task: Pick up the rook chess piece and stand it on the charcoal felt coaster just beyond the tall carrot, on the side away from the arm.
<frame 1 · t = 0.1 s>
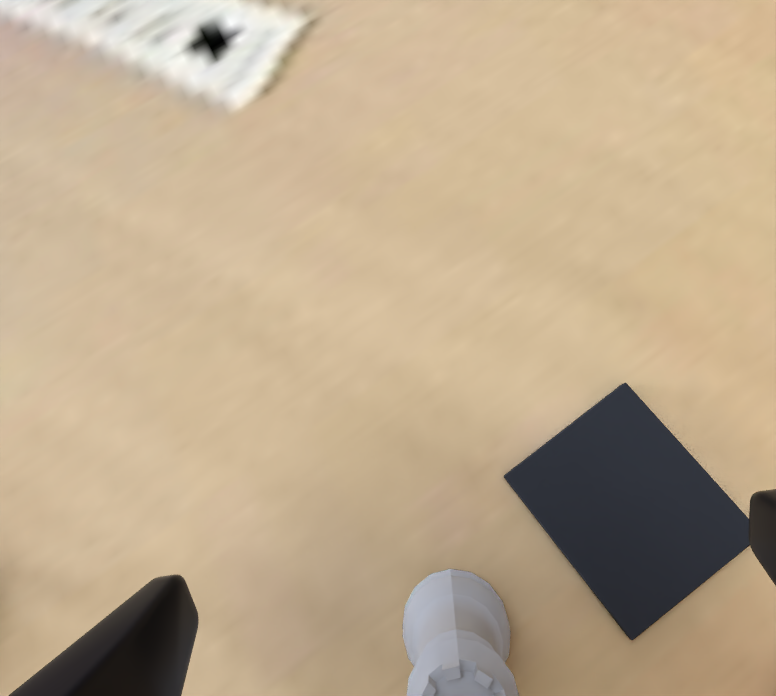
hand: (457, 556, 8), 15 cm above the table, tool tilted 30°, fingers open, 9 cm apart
rook chess piece: (454, 620, 21), on the table
coaster: (625, 503, 21), on the table
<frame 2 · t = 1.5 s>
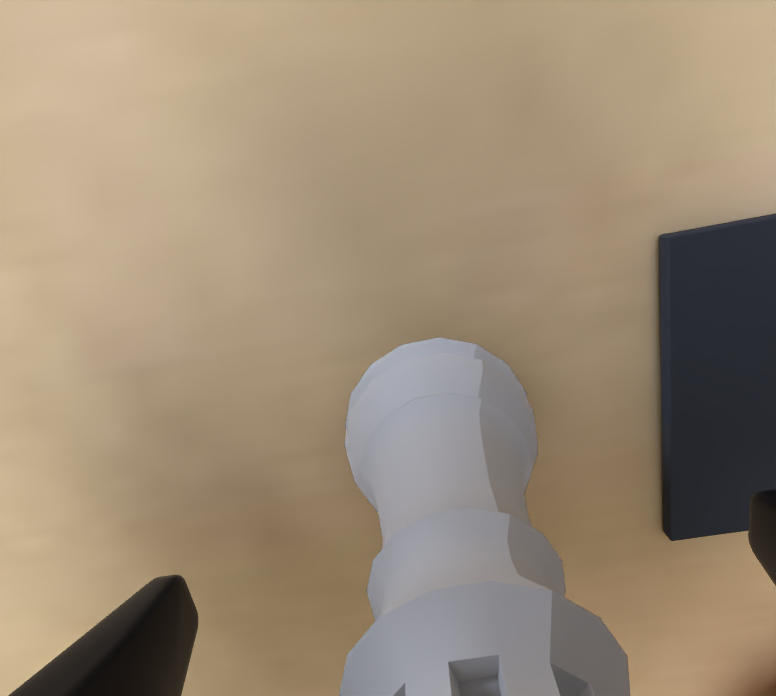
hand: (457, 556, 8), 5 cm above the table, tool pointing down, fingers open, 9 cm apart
rook chess piece: (435, 413, 12), on the table
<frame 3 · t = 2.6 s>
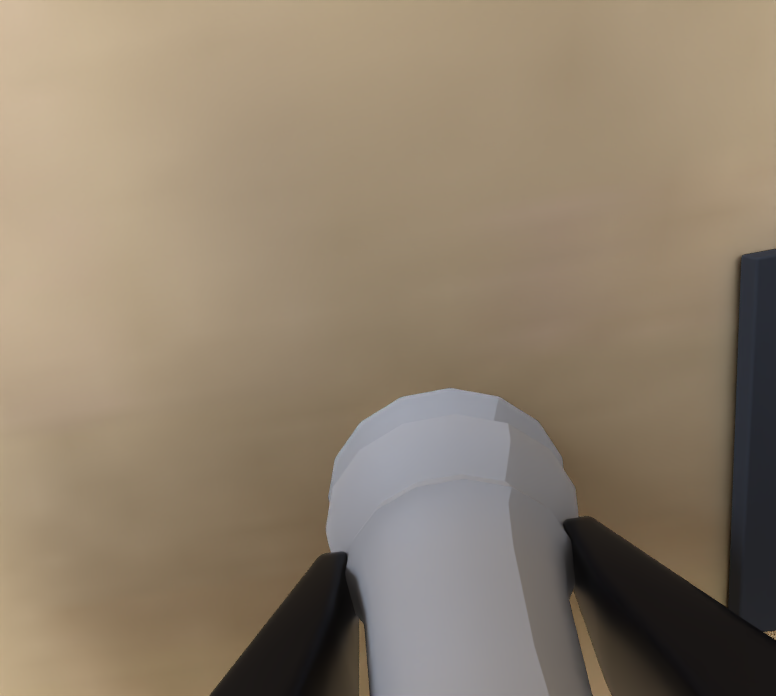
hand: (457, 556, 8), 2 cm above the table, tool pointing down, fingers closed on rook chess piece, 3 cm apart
rook chess piece: (443, 476, 10), on the table, touching gripper
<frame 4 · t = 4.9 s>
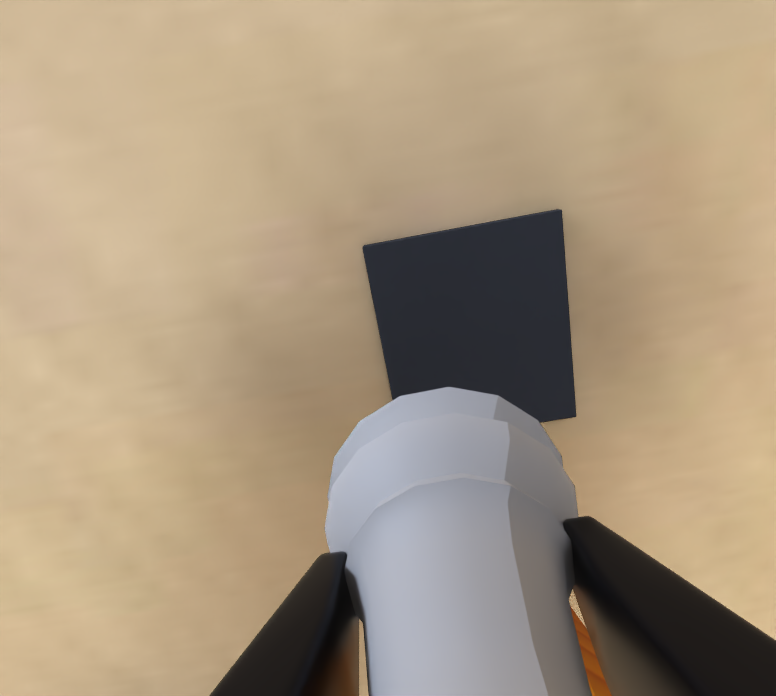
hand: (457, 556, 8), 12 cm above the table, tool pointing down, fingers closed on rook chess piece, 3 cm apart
rook chess piece: (442, 475, 10), point 9 cm above the table, touching gripper
carrot: (502, 551, 22), on the table
coaster: (473, 333, 18), on the table
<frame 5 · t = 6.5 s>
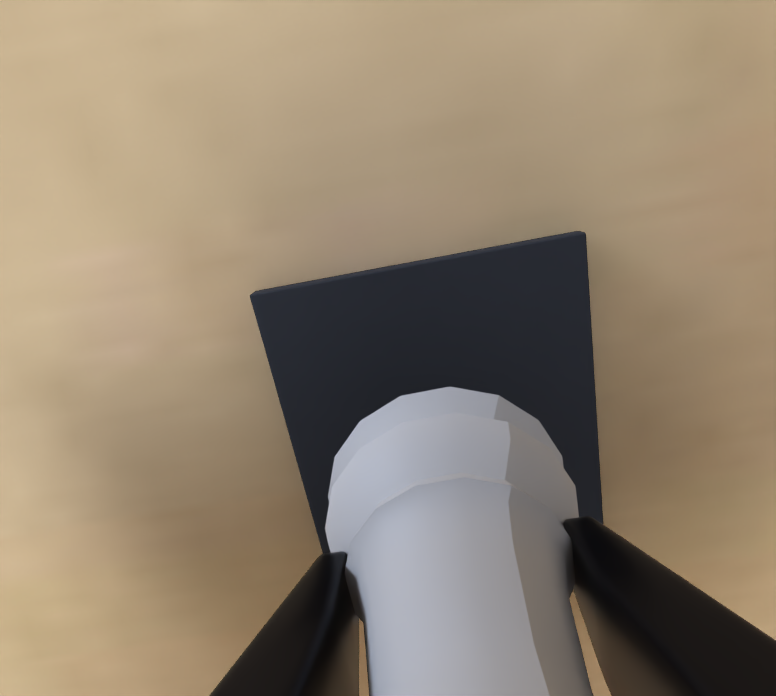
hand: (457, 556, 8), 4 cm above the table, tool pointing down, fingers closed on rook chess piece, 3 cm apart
rook chess piece: (443, 475, 10), point 2 cm above the table, touching gripper
coaster: (441, 427, 12), on the table
when the fingers open (2 cm above the table, at t = 7.2 s): rook chess piece stays where it is, resting on coaster.
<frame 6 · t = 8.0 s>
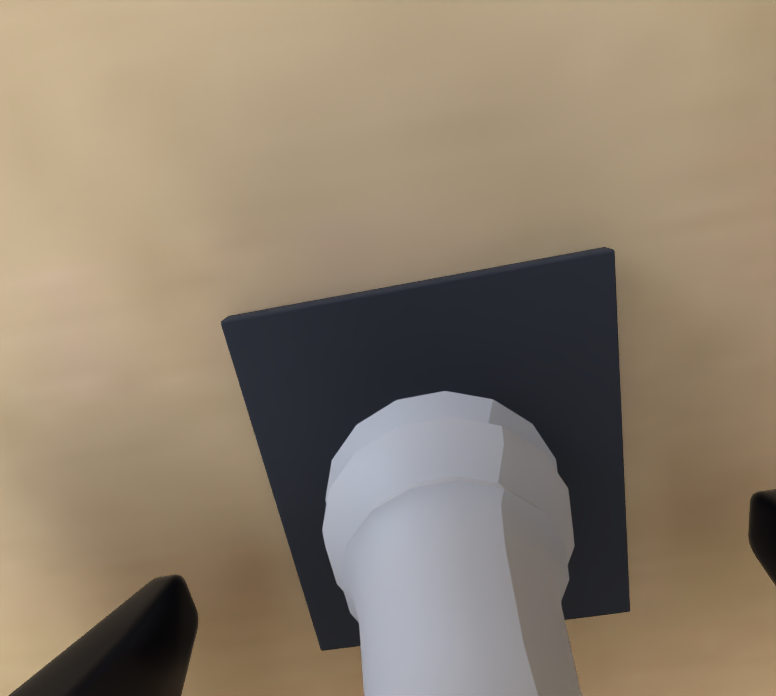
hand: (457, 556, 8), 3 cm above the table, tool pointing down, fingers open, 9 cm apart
rook chess piece: (439, 478, 10), resting on coaster
coaster: (443, 470, 10), on the table
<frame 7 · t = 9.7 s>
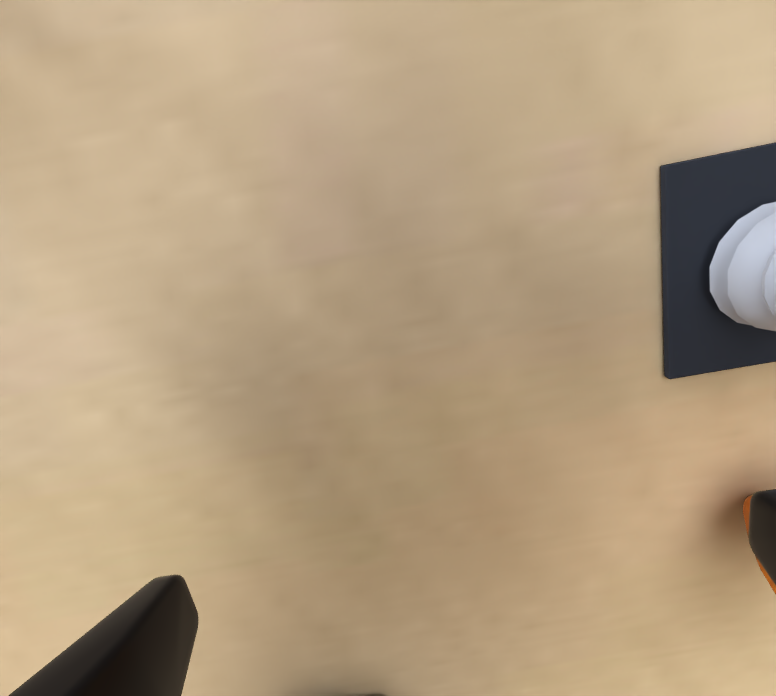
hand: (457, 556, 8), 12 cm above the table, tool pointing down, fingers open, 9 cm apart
rook chess piece: (760, 262, 18), resting on coaster
carrot: (746, 495, 21), on the table
coaster: (759, 260, 18), on the table
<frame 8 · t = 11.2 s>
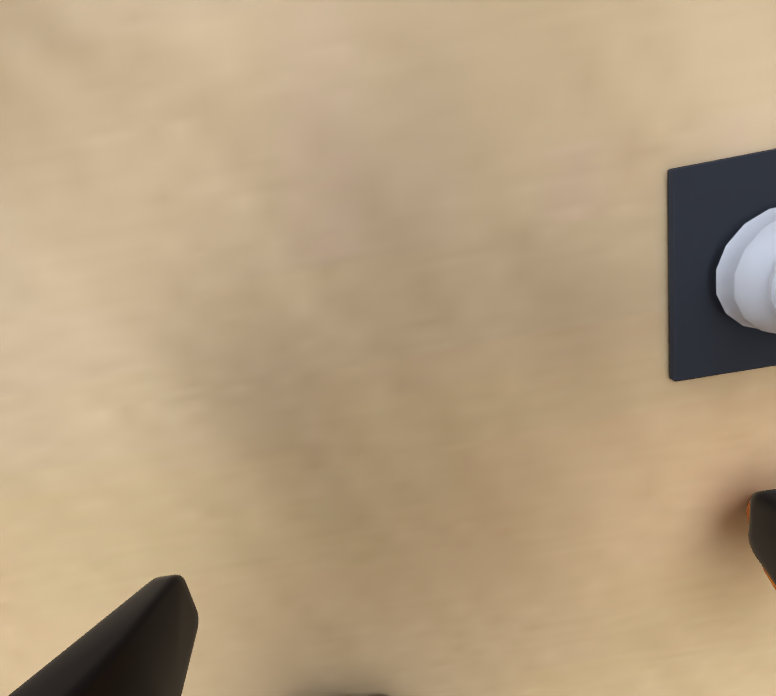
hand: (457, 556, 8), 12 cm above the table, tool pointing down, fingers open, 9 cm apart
rook chess piece: (766, 266, 18), resting on coaster
carrot: (749, 498, 21), on the table
coaster: (765, 263, 18), on the table
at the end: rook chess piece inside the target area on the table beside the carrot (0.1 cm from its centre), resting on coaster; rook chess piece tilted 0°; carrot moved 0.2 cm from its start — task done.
